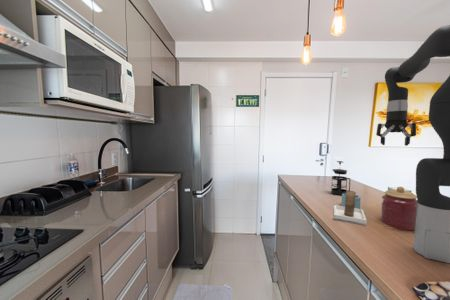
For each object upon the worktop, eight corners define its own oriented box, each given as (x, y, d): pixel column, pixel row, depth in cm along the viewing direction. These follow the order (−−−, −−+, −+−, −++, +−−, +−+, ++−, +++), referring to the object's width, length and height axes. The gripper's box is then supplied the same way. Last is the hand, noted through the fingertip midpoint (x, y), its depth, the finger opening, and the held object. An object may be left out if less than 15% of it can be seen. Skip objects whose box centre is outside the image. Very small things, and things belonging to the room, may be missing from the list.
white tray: (366, 225, 92) (366, 220, 92) (333, 219, 98) (334, 214, 98) (362, 214, 105) (362, 209, 105) (334, 209, 111) (334, 205, 111)
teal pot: (360, 211, 108) (361, 199, 108) (341, 208, 112) (342, 196, 112) (358, 206, 116) (359, 194, 115) (341, 204, 120) (341, 192, 119)
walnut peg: (353, 217, 99) (356, 193, 98) (344, 215, 101) (346, 192, 99) (352, 214, 102) (355, 191, 101) (343, 212, 104) (346, 190, 103)
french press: (330, 195, 137) (331, 161, 135) (329, 191, 146) (330, 160, 144) (350, 197, 132) (352, 162, 131) (348, 193, 141) (350, 161, 139)
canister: (421, 234, 84) (425, 192, 83) (382, 226, 91) (384, 188, 90) (413, 222, 95) (415, 185, 94) (378, 216, 102) (380, 182, 101)
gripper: (379, 110, 95) (377, 145, 97) (420, 109, 89) (417, 146, 90) (376, 112, 102) (374, 144, 103) (414, 110, 95) (411, 145, 96)
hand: (394, 145), depth 97 cm, fingers open, 8 cm apart
